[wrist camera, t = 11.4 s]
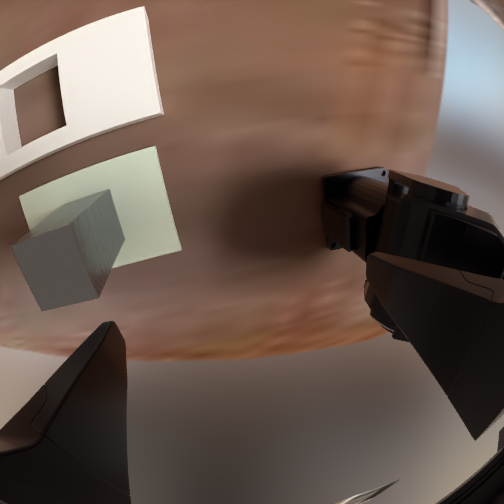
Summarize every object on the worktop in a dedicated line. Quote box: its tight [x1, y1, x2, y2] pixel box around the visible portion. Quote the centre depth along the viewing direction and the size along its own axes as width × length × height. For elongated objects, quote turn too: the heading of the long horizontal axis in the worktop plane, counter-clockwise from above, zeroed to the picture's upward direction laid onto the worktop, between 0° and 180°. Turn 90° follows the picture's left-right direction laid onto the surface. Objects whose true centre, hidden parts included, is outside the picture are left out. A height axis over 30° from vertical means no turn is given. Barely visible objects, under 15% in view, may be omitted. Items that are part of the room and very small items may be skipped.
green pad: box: [19, 146, 182, 268], centre depth 19 cm, size 12×8×1 cm, turn 99°
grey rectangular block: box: [11, 189, 125, 311], centre depth 15 cm, size 4×4×8 cm
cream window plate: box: [0, 6, 164, 180], centre depth 13 cm, size 16×8×2 cm, turn 99°
